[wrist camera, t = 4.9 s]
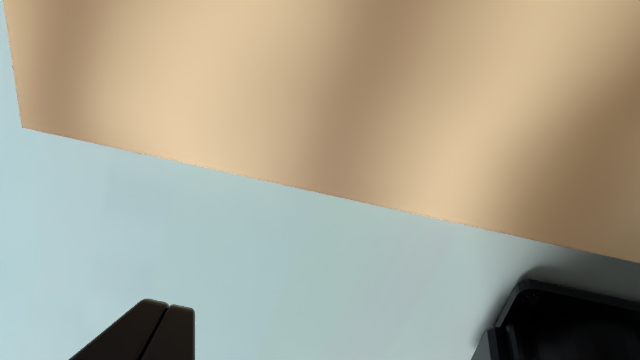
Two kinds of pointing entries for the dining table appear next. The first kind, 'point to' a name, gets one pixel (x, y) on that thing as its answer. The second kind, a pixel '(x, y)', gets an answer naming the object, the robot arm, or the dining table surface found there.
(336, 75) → the oak plank
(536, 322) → the robot arm
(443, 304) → the dining table surface
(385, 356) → the dining table surface
